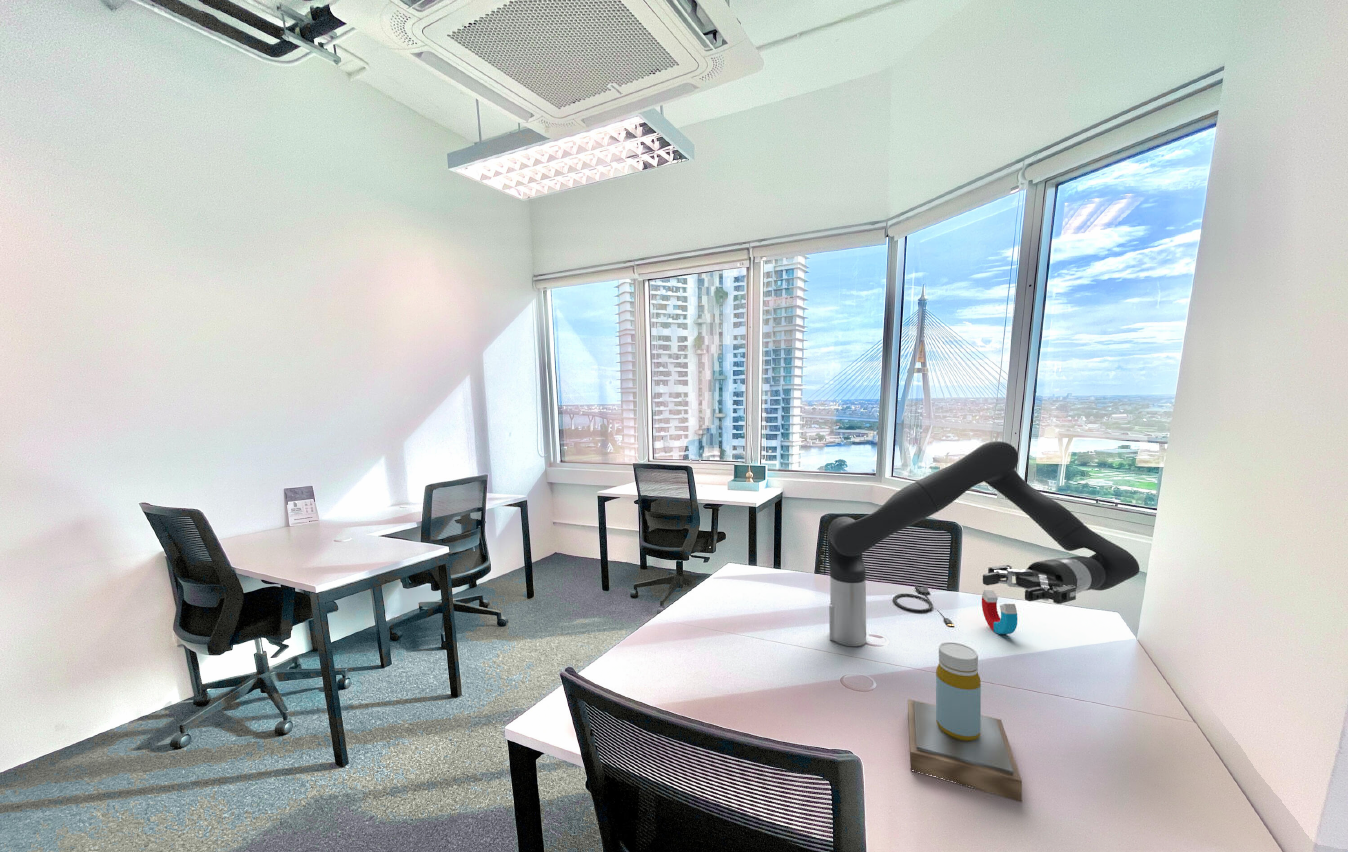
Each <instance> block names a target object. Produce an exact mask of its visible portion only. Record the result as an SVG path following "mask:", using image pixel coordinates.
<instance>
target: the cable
mask: <svg viewBox="0 0 1348 852" xmlns="http://www.w3.org/2000/svg"><path fill="white" fill-rule="evenodd" d="M915 589H916V590H915ZM914 590H915V592H916V593H917V594H913V593H906V592H905V593H898V594H896V595H894V596H893V597H892V602H893V603H894V604H895V605H896V606H897V607H899V608H901V609H903V610H905V611H908V612H912V613H918V614H919V613H928V612H931V611H932V610H933V608H934V607H933V606H934V605H933V604H934V603H933V602H932V601H931V600H930V598H929V597H928V595H929V596H930V595H931V592H930V591H929V588H928V587H926V586H925V587H924V586H914ZM921 595H922V596H921ZM924 595H925V596H924ZM906 596H907V597H906ZM913 597H915V598H914V599H917V598H919V599H918V600H920V599H923V600H924V601H926V602H927V603H928V604H929V605H928V604H927V603H926V602H925V603H926V604H927V605H928V607H927V608H912V607H908V606H905V605H903V604H901V603H900V602H898V599H900V598H913ZM925 597H926V598H925ZM923 600H922V601H923ZM924 601H923V602H924ZM936 611H937V612H938V613H939V614H940V615H941V617H942V618H943V623H944V624H945V625H946V627H950V628H955V625H954V623H953V622H952V620H951V619H949V618H947V617H945V616H944V615H943V614H942V612H940V611H939V610H938V609H937V610H936Z"/></svg>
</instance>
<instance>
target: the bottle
mask: <svg viewBox="0 0 1348 852" xmlns="http://www.w3.org/2000/svg"><path fill="white" fill-rule="evenodd" d="M935 670H936V673H935V678H936V679H935V686H936V687H935V688H936V689H935V702H936V704H935V705H936V722H937V724H938V726H939V727H940V728H941V730H942V731H943V732H944V733H946V734H947V735H948V736H950V737H952V738H955V739H958V740H961V741H973V740H975V739H977V738H978V737H979V736H980V731H981V714H982V713H981V712H982V711H981V709H982V705H981V702H982V701H981V699H982V698H981V697H982V696H981V695H982V694H981V693H982V690H981V687H982V685H981V683H982V682H981V676H980V674H979V655H978V653H977V651H976V650H975V649H974V648H972V647H970V646H968V645H965V644H963V643H960V642H953V641H952V642H951V641H947V642H946V641H945V642H941V643H940V644H939V646H938V664H937V667H936V669H935Z"/></svg>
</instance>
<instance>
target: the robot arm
mask: <svg viewBox="0 0 1348 852" xmlns="http://www.w3.org/2000/svg"><path fill="white" fill-rule="evenodd" d="M1017 450H1018V449H1016V447H1015V446H1013V445H1012V444H1011V443H1009V442H1007V441H1001V440H993V441H992V440H991V441H987V442H985V443H983V444H981V445H979V446H978V447H977V448H976V449H974V450H973V451H971V452H969V453H968V454H966V455H964V456H963V457H962V458H960V459H958V460H957V461H956V462H954V463H952V464H950V465H947V466H946V467H944V468H940V469H939V470H937V471H934V472H932V473H930V474H928V475H926V476H923V478H920V479H918V480H916V481H915V482H911V483H909V484H908V485H906V486H904V487H903V488H901V489H900V490H898V491H896V492H895V493H894V494H892V495H891V497H889V498H888V499H887V500H886V502H884V504H882V505H881V507H879V508H878V509H877V510H875V511H873V512H871V513H869V514H867V515H866V516H863V517H861V518H859V519H856V520H855V519H854V518H851V517H848V516H839V517H837V518H835V519H833V520H832V521H831V522H830V524H829V525H828V529H827V556H828V557H827V559H828V560H827V561H828V566H829V586H830V587H829V591H830V593H829V595H830V596H829V597H830V599H829V600H830V603H829V607H828V613H829V619H828V620H829V621H828V623H829V626H828V627H829V641H833V642H835V643H837V644H839V645H842V646H847V647H860V646H864V645H865V644H866V643H867V575H866V574H867V571H866V568H865V563H864V559H863V554H864V553H866V552H867V551H868V550H870V549H871V548H873V547H875V546H876V545H877V544H879V543H880V542H882V541H884V540H885V539H887V538H888V537H890V536H892V535H894V534H896V533H898V532H900V531H902V530H904V529H907V528H909V527H910V526H912V525H915V524H916V523H918V522H921V521H923V520H925V519H926V518H929V517H930V516H933V515H935V514H937V513H939V512H941V510H942V511H943V509H945V508H946V507H948V506H949V505H950V504H952V503H953V502H955V501H956V500H957V499H959V498H960V497H961V496H963V495H964V494H965V493H966V492H967V491H969V490H970V489H971V488H972V489H973V488H974V487H976V486H977V485H979V484H982V483H986V485H988V486H990V487H991V488H992V489H994V490H995V491H997V492H998V493H999V494H1001V495H1002V496H1004V498H1005V499H1007V500H1009V501H1010V502H1011V503H1013V504H1014V505H1015V506H1016V507H1018V509H1020V510H1021V511H1022V512H1023V513H1025V515H1027V516H1028V517H1029V518H1030V519H1031V520H1033V522H1035V523H1036V524H1037V526H1039V527H1040V528H1041V530H1043V531H1044V532H1045V533H1046V534H1047V535H1048V536H1049V537H1051V539H1052V540H1053V541H1054V542H1055V543H1056V544H1058V545H1059V546H1060V547H1061V548H1062V549H1064V550H1066V551H1067V552H1073V551H1076V550H1080V549H1087V550H1090V551H1092V552H1093V553H1094V554H1092V555H1090V556H1084V555H1083V556H1082V555H1081V556H1079V555H1076V556H1071V557H1057V558H1052V559H1044V560H1039V561H1034V562H1032V563H1031V564H1030V565H1029V566H1028V567H1027V568H1026V569H1025V568H1024V569H1015V568H1014V569H1013V568H1012V567H1013V566H1012V565H1010V564H1003V565H997V566H989V567H987V570H988V571H987V573H984V574H982V584H983V585H984V586H991V585H998V584H1000V585H1001V584H1003V585H1007V586H1008V587H1010V588H1020V589H1024V599H1025V601H1028V602H1033V601H1034V602H1035V601H1039V600H1041V601H1045V602H1047V601H1050V600H1052V602H1053V603H1054V604H1057V605H1062V604H1065V603H1069V602H1072V601H1075V600H1076V599H1077V595H1078V594H1079V593H1082V592H1085V591H1099V592H1100V591H1105V590H1108V589H1109V590H1110V589H1111V588H1114V587H1116V586H1118V585H1120V584H1122V583H1124V582H1126V581H1128V580H1130V579H1132V578H1134V577H1136V576H1137V575H1138V574H1139V573H1140V564H1139V562H1138V560H1137V559H1136V558H1135V557H1134V555H1132V554H1131V553H1130V552H1129V551H1128V550H1126V549H1125V548H1123V547H1122V546H1120V545H1117V544H1116V543H1114V542H1112V541H1110V540H1109V539H1107V538H1105V537H1104V536H1102V535H1100V534H1098V533H1097V532H1096V531H1093V530H1092V529H1090V528H1089V527H1088V526H1087V525H1086V524H1085V523H1083V522H1082V521H1081V520H1080V519H1079V518H1078V517H1077V516H1075V514H1073V513H1072V512H1071V511H1070V510H1068V508H1067V507H1065V506H1063V505H1062V504H1061V503H1059V502H1058V501H1056V500H1054V499H1053V498H1051V497H1048V496H1047V495H1045V494H1044V493H1041V492H1040V491H1039V490H1037V489H1035V488H1034V487H1032V486H1031V484H1029V483H1028V482H1026V481H1025V480H1024V479H1023V477H1021V476H1020V474H1019V473H1018V472H1017V471H1016V468H1017V466H1018V463H1019V454H1018V453H1019V452H1018V451H1017ZM1013 577H1014V579H1015V582H1013Z"/></svg>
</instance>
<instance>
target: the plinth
mask: <svg viewBox="0 0 1348 852" xmlns="http://www.w3.org/2000/svg"><path fill="white" fill-rule="evenodd" d="M907 721H908V722H907V723H908V726H907V727H908V745H909V762H910V767H911V768H910V771H911V770H914V771H916V772H920V773H923V774H928V775H932V776H936V777H938V778H943V779H945V780H949V781H953V782H956V783H959V784H962V785H961V786H963V785H967V786H970V787H973V788H972V789H974V788H976V789H975V790H977V789H979V790H978V791H981V790H982V792H985V791H986V793H988V792H990V793H989V794H992V793H993V795H995V794H997V795H996V796H999V795H1001V796H1000V797H1003V796H1004V797H1003V798H1006V797H1007V799H1010V800H1013V801H1019V802H1021V803H1022V802H1023V796H1022V795H1023V780H1022V777H1021V775H1020V771H1019V768H1018V765H1017V762H1016V759H1015V757H1014V753H1013V750H1012V747H1011V744H1010V742H1009V739H1008V735H1007V733H1006V729H1005V727H1004V724H1003V721H1002V719H1000V718H996V717H991V716H987V715H981V731H980V736H979V737H978V738H977V739H975V740H973V741H961V740H958V739H955V738H952V737H950V736H948V735H947V734H946V733H944V732H943V731H942V730H941V728H940V727H939V726H938V724H937V722H936V704H931V703H927V702H923V701H918V700H913V699H907ZM916 772H915V773H916ZM920 773H919V774H920ZM923 774H922V775H923ZM938 778H937V779H938ZM945 780H944V781H945ZM949 781H948V782H949ZM956 783H955V784H956ZM959 784H958V785H959ZM967 786H966V787H967ZM970 787H969V788H970Z"/></svg>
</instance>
